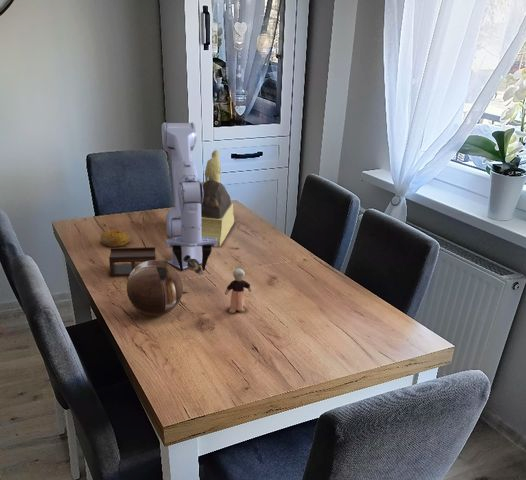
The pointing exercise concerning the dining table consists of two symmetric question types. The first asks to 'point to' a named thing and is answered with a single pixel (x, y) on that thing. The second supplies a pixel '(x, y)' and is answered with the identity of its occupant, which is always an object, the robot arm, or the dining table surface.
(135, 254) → the shelf
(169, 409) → the dining table surface
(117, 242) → the bagel
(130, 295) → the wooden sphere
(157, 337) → the dining table surface
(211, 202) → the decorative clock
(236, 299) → the grandmother figurine
